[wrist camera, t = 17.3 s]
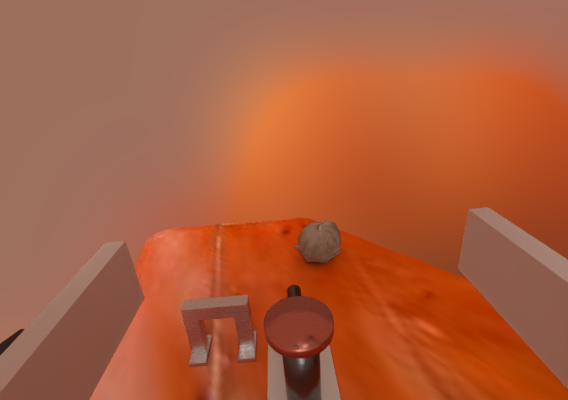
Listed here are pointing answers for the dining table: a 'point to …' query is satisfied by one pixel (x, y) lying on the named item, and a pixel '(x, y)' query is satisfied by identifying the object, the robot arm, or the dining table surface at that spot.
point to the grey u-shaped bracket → (215, 309)
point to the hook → (300, 341)
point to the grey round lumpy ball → (319, 242)
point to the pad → (277, 377)
